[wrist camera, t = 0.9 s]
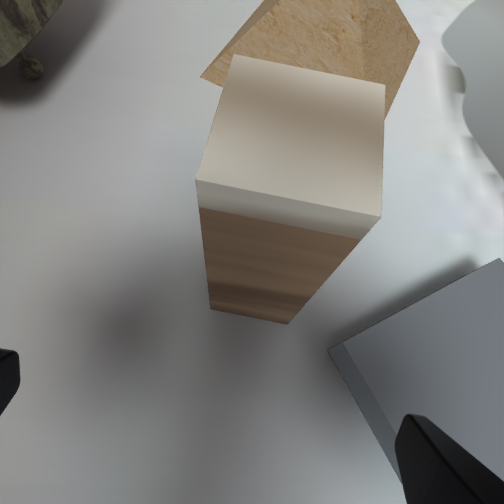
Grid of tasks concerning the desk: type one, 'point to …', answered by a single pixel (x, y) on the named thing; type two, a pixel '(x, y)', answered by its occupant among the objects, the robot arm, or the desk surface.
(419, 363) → the plate
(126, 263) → the desk surface
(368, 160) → the walnut box
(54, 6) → the tabletop clock
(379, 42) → the model pyramid
